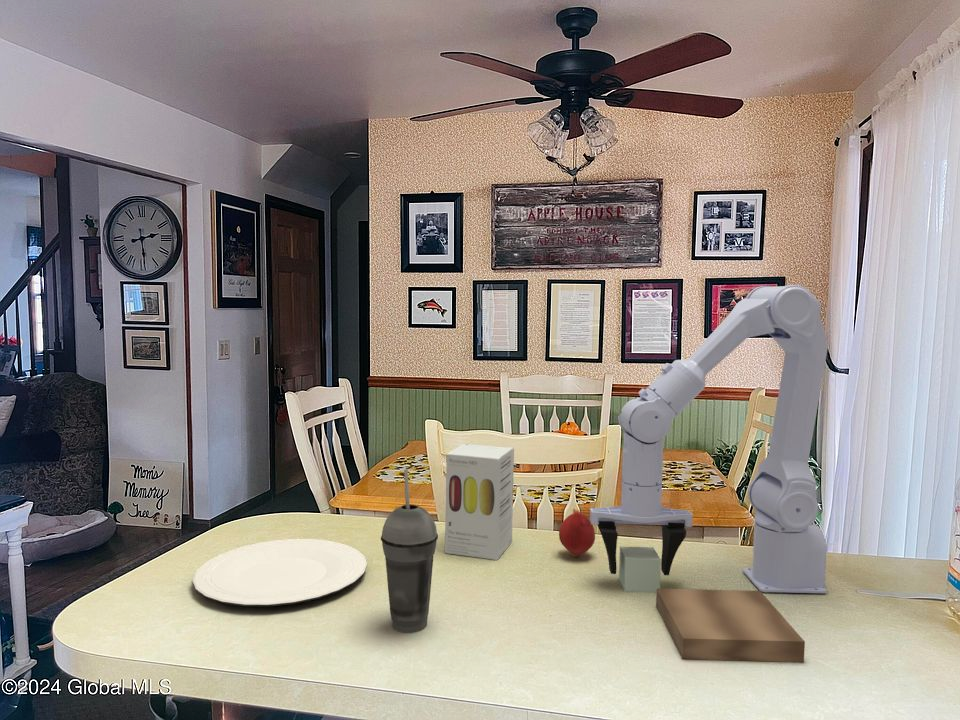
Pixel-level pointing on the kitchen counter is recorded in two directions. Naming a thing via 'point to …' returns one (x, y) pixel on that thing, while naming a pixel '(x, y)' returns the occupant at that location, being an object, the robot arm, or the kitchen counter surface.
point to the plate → (279, 572)
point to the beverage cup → (409, 563)
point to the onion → (577, 533)
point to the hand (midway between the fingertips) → (638, 572)
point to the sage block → (639, 569)
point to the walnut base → (728, 626)
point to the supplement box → (479, 500)
